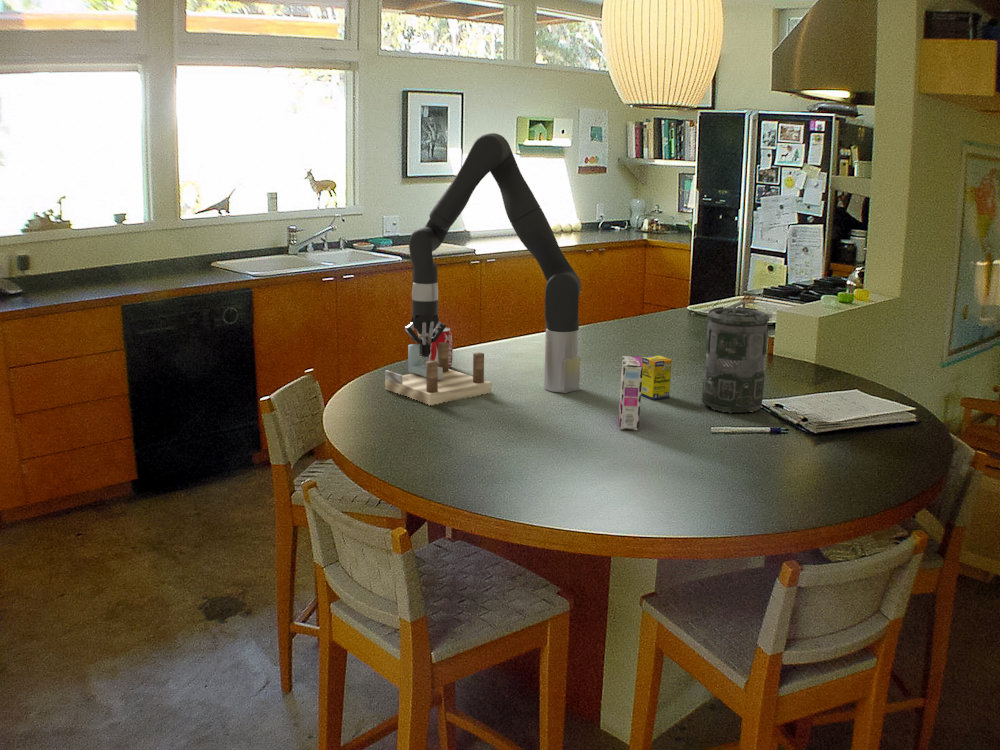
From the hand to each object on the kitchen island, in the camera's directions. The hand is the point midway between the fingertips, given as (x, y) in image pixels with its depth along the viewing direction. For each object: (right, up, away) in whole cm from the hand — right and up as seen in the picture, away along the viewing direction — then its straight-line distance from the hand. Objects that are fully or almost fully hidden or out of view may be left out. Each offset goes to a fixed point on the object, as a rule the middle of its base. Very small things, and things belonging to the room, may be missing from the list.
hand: (425, 356), depth 282 cm
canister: (+84, -14, -23) cm, 88 cm away
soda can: (+4, -3, +14) cm, 15 cm away
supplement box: (+65, -11, -14) cm, 67 cm away
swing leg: (+1, -5, -9) cm, 10 cm away
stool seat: (+5, -10, -12) cm, 16 cm away
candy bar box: (+54, -18, -40) cm, 69 cm away
